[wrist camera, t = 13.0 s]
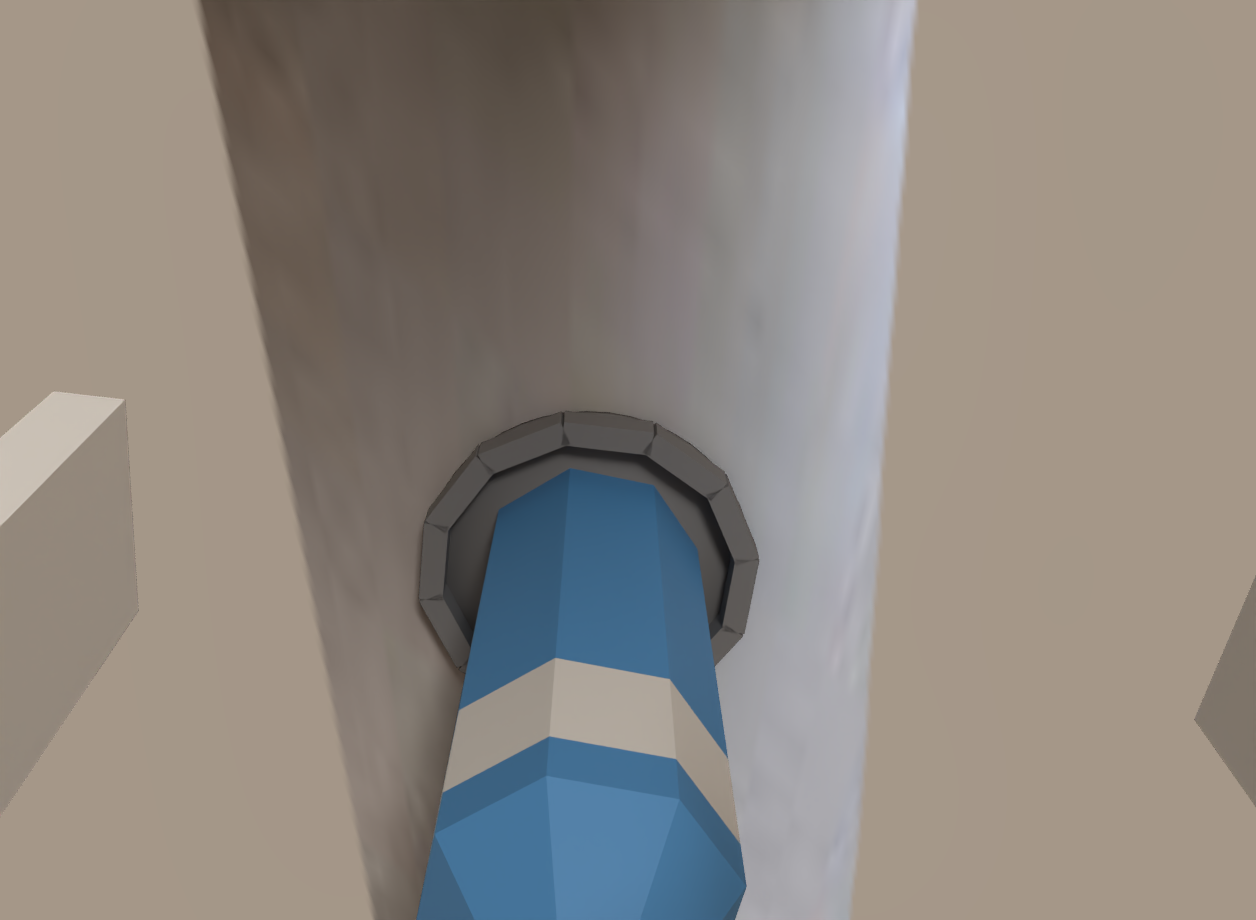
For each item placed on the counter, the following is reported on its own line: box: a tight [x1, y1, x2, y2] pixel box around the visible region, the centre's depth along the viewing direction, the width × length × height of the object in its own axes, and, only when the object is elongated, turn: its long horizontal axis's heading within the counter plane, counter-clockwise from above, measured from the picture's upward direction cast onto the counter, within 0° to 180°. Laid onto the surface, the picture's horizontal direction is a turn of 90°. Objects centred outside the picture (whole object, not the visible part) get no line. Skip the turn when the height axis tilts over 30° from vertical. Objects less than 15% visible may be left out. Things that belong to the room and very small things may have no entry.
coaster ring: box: [419, 411, 759, 674], centre depth 49 cm, size 14×14×2 cm
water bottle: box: [416, 468, 747, 920], centre depth 38 cm, size 9×9×25 cm
